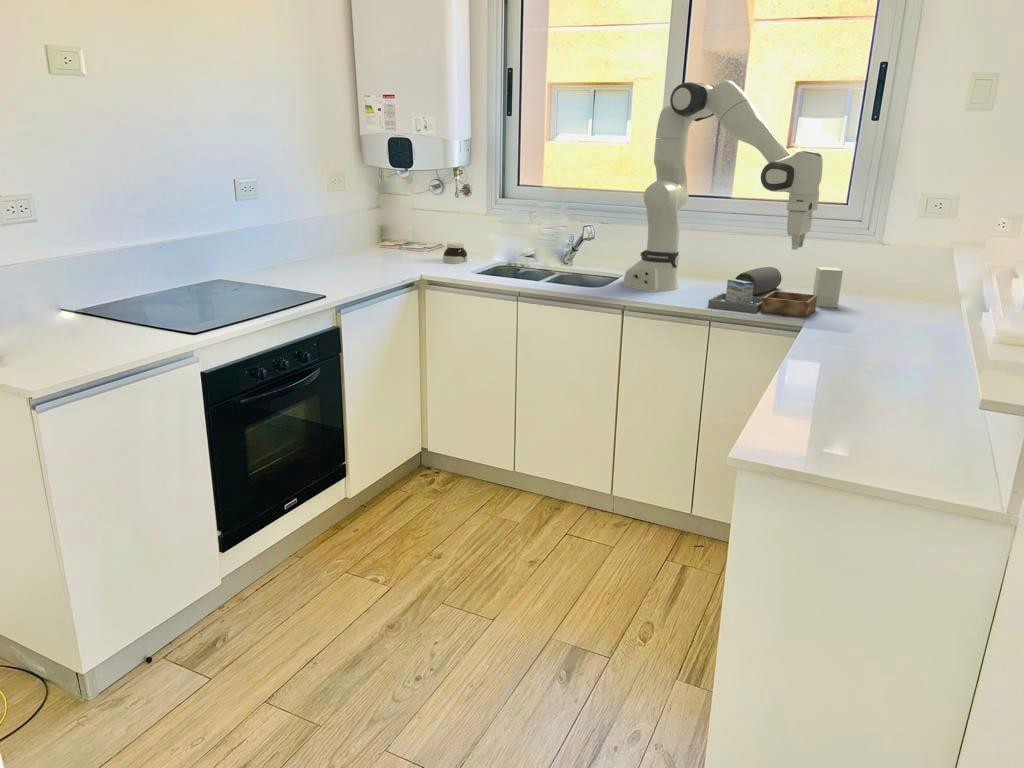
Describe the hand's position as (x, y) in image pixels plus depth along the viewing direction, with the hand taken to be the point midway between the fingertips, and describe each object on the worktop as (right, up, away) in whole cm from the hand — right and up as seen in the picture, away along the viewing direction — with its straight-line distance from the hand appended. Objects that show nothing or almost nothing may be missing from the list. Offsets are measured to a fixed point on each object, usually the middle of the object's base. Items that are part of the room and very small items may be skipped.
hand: (797, 248), depth 240 cm
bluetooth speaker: (-2, -12, +33) cm, 35 cm away
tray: (-15, -17, +12) cm, 26 cm away
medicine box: (-15, -17, +13) cm, 26 cm away
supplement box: (+16, -17, +18) cm, 30 cm away
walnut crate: (0, -20, +6) cm, 21 cm away
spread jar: (-116, +3, +72) cm, 136 cm away
